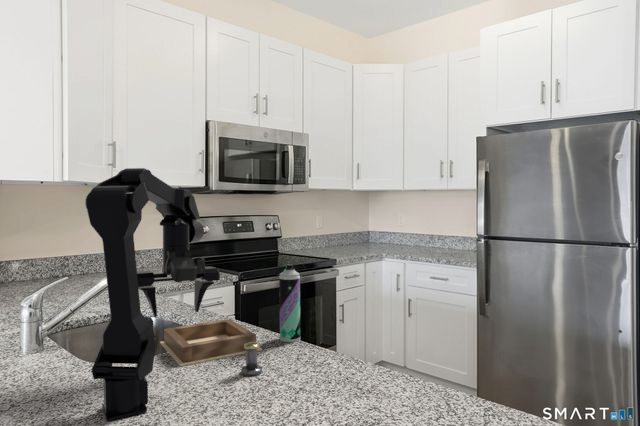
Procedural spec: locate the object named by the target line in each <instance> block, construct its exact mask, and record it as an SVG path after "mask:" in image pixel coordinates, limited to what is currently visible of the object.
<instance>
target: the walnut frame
mask: <svg viewBox="0 0 640 426" xmlns="http://www.w3.org/2000/svg"><path fill="white" fill-rule="evenodd" d="M224 334H226V335H228V336H229V337H225V338H220V339H214V340H208V341H202V342H197V343H191V344H189V343H188V342H187V341H189V340H195V339H201V338H206V337H212V336H218V335H224ZM163 339H164V340H163V341H164V343H165V344H166V345H167V346H168V347H169V348H170V349H171V350H172V351H173V353H174V354H175V355H176V356H177V357H178V358H179V359H180V360H181V361H182V362H183V363H186V362H191V361H196V360H201V359H206V358H211V357H216V356H221V355H226V354H232V353H237V352H242V351H246V349H244V344H245V343H249V342H256V343H257V334H256V333H254V332H252V331H251V330H249V329H248V328H246V327H244V326H243V325H241V324H239V323H237V322H236V321H234V320H232V319H231V318H228V319H221V320H216V321H215V320H213V321H207V322H202V323H195V324H194V323H193V324H188V325H181V326H175V327H168V328H164V329H163Z"/></svg>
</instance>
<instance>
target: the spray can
mask: <svg viewBox="0 0 640 426" xmlns="http://www.w3.org/2000/svg"><path fill="white" fill-rule="evenodd" d="M295 269H296V268H295V267H294V266H293V265H292V264H286V265H285V269H284V270H283V271H282V272H281V273H280V272H279V276H278V281H279V282H278V283H279V284H278V285H279V340H280V342H284V343H296V342H299V341H301V276H300V272H298V271H296V270H295ZM297 340H298V341H297Z"/></svg>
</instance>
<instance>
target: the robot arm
mask: <svg viewBox="0 0 640 426" xmlns="http://www.w3.org/2000/svg"><path fill="white" fill-rule="evenodd" d="M148 202H151V203H153V204H155V209H156V211H158V212H159V213H160V215H161V217H163V218H162V219H161V221H160V222H159V226H161V227H162V250H161V255H162V269H161V271H162V272H160V273H155V272H153V271H151V270H138V269H137V261H136V260H137V258H136V250H135V239H134V238H135V237H134V234H135V232H136V231H137V228H138V227H139V225H140V223H141V221H142V214H143V213H142V212H143V211H142V210H143V209H144V208H145V206H146V205H147V203H148ZM84 204H85V208H86V211H87V215H88V220H89V225H90V226H91V227H92V228H93V230H95V232H96V233H97V235H98V236H99V237H100V238H101V240H102V247H103V248H102V249H103V257H104V267H105V274H106V275H105V276H106V285H107V293H108V294H107V295H108V303H109V304H108V305H109V311H110V312H109V313H110V320H109V322H108V324H107V326H106V327H105V329H104V331H103V334H102V345H101V346H100V349H99V352H98V354H97V356H96V358H95V361H94V363H93V365H92V368H91V373H92V377H93V379H94V380H99V379H100V380H103V404H102V405H101V406H102V408H101V409H102V411H103V413H104V414H103V415H104V418H105V420H106V421H107V422H109V421H113V420H117V419H118V420H119V419H121V418H126V417H130V416H131V417H132V416H134V415H139V414H143V413H146V412H148V407H147V406H146V405H148V403H149V393H148V392H149V391H148V390H149V388H148V387H149V386H148V385H149V383H148V382H149V381H148V380H147V379H146V376H148V375H149V374H150V373H152V372H153V371H154V370H153V368H154V362H155V357H156V356H155V355H156V348H157V344H156V343H157V342H156V339H155V338H156V336H155V335H156V334H155V332H154V321H153V318H152V317H151V316H150V317H149V316H148V317H147V316H144V314H143V313H142V312H141V311H142V310H141V301H140V291H142V292H143V294H144V296H145V297H146V300H147V302H148V305H149V307H150V310H151V313H152V315H153V317H154V318H157V315H158V309H157V308H158V307H157V300H156V299H157V298H156V289H157V288H156V286H154V283H157V282H171V281H172V282H175V283H182V282H187V281H190V282H194V302H193V304H194V311H195V313H198V312H199V310H200V307H201V304H202V301H203V298H204V296H205V294H206V292H207V290H208V288H209V287H210V286H212V285H214V284H215V282H216V281H221V280H220V279H221V277H220V276H221V274H220V273H221V272H220V270H219V268H217V267H215V266H210V265H209V266H206V260H205V258H204V257H203V256H202V257H195V258H192V253H191V251H192V250H190V244H194V243H195V244H196V243H198V242H200V241H201V240H202V239H203V237H204V234H205V229H204V226H203V224H202V223H201V222H200V221H198V220H200V219H201V218H200V213H199V211H198V210H199V209H198V206H197V202H196V198H195V196H194V195H193V193H192V192H191V191H190V190H188V189H185V188H178V187H177V188H176V187H172V186H170V185H169V184H168V183H166V182H164V181H163V180H162V179H160V178H158V177H157V176H155V175H154V174H152V171H151V170H150V169H147V168H144V167H143V168H141V167H139V168H137V167H136V168H134V167H133V168H131V167H130V168H124V169H121V170H120V171H119V172H118V173H117V174H116V175H113V176H111V177H110V178H107V179H106V180H104V181H101V182H99V183H98V184H97V185H96V186H94V187H92V189H91V190H90V191H89V192H88V194H87V195H86V197H85V203H84ZM137 270H138V271H137ZM113 364H122V365H123V366H121V365H120V366H117V365H113ZM124 364H131V365H136V366H124Z"/></svg>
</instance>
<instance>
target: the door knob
mask: <svg viewBox="0 0 640 426" xmlns="http://www.w3.org/2000/svg"><path fill="white" fill-rule="evenodd" d="M259 347H260V343H259V342H257V341H256V342H249V343H245V344H244V349H246V353H245V366H243V367H242V368H241V369H240V370H241V375H243V376H245V377H255V376H259V375H261V374H262V373H263V366H261V365H259V364H258V351H257V348H259Z"/></svg>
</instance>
